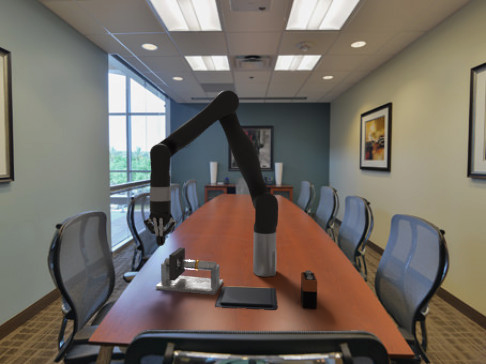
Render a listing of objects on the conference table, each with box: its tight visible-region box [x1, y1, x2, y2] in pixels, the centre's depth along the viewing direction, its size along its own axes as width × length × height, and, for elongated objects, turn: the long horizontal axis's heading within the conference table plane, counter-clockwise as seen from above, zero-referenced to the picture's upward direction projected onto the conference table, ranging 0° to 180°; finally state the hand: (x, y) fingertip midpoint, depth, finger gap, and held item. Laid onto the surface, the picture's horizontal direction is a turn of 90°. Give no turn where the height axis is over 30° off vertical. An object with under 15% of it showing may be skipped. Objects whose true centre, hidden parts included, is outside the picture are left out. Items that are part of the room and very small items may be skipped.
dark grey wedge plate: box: [168, 247, 186, 281], centre depth 102 cm, size 2×9×9 cm, turn 168°
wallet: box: [214, 285, 279, 311], centre depth 93 cm, size 20×2×15 cm
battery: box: [300, 269, 318, 310], centre depth 88 cm, size 4×7×10 cm, turn 174°
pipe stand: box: [155, 257, 224, 296], centre depth 101 cm, size 22×10×10 cm, turn 78°
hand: (160, 245), depth 102 cm, fingers closed
